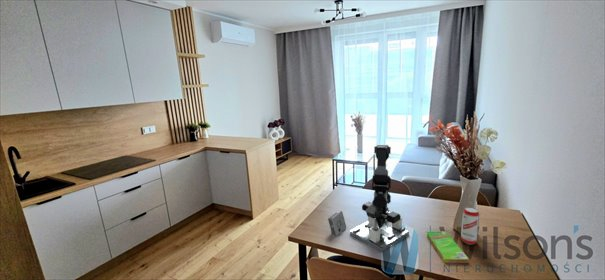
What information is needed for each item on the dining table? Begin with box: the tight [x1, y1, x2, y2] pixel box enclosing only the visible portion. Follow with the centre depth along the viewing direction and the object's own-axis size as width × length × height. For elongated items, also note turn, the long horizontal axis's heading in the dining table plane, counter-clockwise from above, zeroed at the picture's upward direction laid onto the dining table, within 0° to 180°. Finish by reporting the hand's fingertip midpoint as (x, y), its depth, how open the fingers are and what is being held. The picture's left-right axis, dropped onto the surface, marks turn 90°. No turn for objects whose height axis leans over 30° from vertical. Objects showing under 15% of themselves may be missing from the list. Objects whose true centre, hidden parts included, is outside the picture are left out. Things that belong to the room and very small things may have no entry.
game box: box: [425, 230, 470, 264], centre depth 121 cm, size 3×10×20 cm
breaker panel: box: [349, 220, 410, 253], centre depth 133 cm, size 21×19×3 cm
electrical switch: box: [327, 210, 347, 236], centre depth 138 cm, size 9×5×9 cm, turn 141°
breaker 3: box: [392, 216, 403, 230], centre depth 134 cm, size 3×4×6 cm, turn 36°
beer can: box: [460, 206, 480, 245], centre depth 123 cm, size 6×6×16 cm
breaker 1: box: [367, 216, 378, 228], centre depth 135 cm, size 3×4×6 cm, turn 36°
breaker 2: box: [369, 227, 380, 243], centre depth 124 cm, size 3×4×6 cm, turn 36°
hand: (380, 227), depth 132 cm, fingers closed
